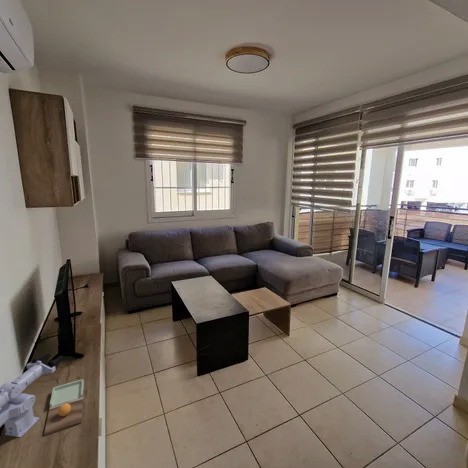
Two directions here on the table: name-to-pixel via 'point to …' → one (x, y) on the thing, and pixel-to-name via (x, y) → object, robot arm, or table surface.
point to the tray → (67, 392)
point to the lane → (64, 417)
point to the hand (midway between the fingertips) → (55, 356)
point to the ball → (64, 409)
